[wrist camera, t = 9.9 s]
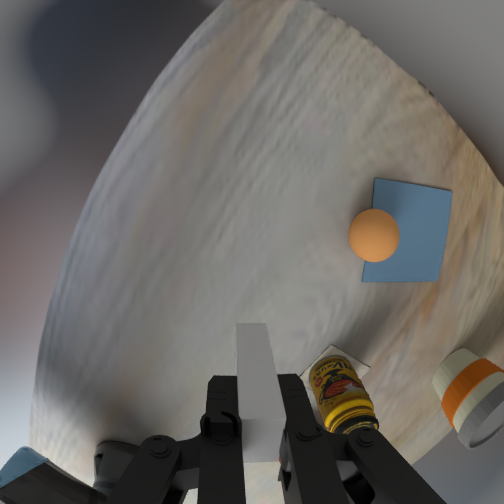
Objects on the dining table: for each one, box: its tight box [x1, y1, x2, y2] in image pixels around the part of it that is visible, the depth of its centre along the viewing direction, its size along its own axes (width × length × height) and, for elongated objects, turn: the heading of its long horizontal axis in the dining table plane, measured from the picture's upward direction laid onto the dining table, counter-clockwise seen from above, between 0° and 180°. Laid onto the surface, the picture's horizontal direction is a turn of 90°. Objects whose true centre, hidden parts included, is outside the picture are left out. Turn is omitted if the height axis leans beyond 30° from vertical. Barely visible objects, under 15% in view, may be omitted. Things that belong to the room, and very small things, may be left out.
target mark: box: [362, 178, 452, 282], centre depth 31 cm, size 12×12×1 cm
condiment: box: [300, 345, 379, 435], centre depth 31 cm, size 7×8×12 cm
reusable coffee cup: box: [433, 348, 504, 450], centre depth 31 cm, size 13×13×15 cm
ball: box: [349, 209, 400, 262], centre depth 28 cm, size 6×6×6 cm
